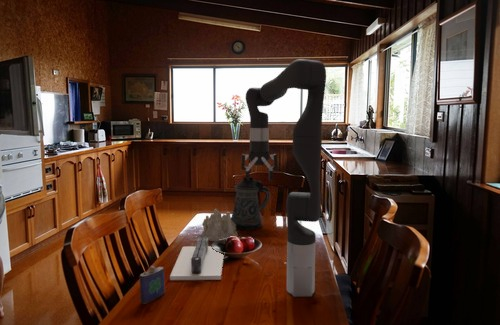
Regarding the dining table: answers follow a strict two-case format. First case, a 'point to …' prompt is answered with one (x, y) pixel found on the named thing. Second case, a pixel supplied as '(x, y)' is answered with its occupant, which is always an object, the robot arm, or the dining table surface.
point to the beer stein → (249, 204)
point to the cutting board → (209, 269)
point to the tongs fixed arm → (199, 257)
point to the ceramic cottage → (218, 226)
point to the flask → (152, 284)
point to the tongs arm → (197, 247)
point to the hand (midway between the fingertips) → (259, 180)
